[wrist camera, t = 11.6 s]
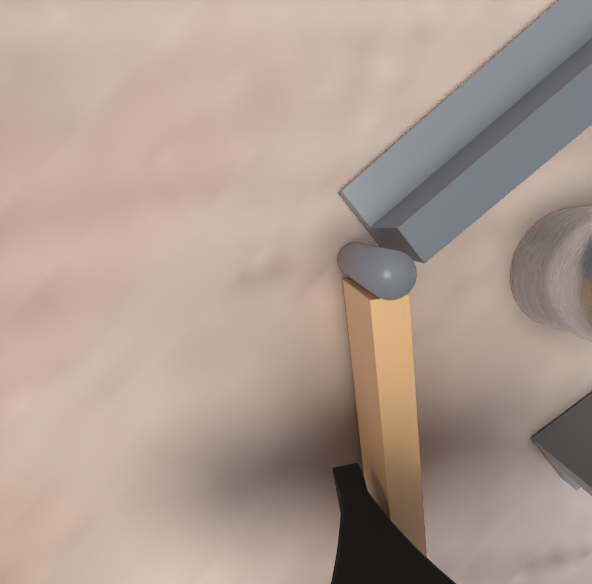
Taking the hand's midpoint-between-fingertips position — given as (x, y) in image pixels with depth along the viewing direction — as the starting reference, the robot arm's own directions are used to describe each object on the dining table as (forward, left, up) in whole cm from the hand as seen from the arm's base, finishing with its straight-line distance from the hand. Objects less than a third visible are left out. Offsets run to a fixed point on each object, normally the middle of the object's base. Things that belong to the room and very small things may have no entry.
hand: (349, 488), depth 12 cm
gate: (+1, -2, -1) cm, 3 cm away
